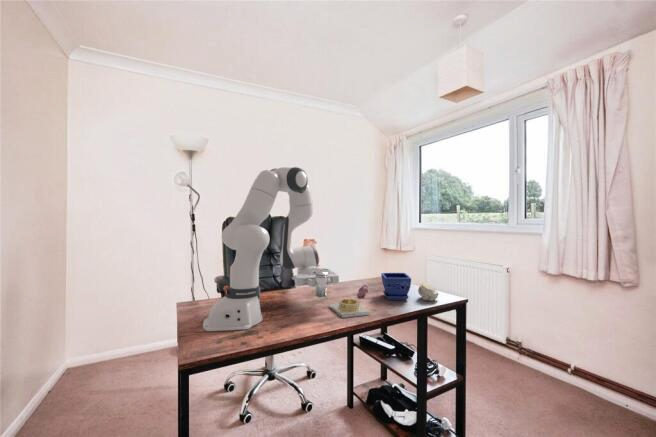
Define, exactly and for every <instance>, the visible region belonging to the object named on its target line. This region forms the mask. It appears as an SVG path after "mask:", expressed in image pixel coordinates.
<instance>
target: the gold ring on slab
mask: <svg viewBox="0 0 656 437" xmlns="http://www.w3.org/2000/svg"><path fill="white" fill-rule="evenodd" d="M329 308H330V309H331V310H333V311H334V312H335V313H336V314H337V315H338V316H339V317H340V318H342V319H345V318H354V317H362V316H369V315H371V311H370V310H369V309H367V307H365V306H363V305H362V304H361V303H360V300H358V299H353V298H342V299H339V301H338V302H335V303H329Z"/></svg>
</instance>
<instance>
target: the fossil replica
mask: <svg viewBox="0 0 656 437" xmlns="http://www.w3.org/2000/svg"><path fill="white" fill-rule="evenodd" d="M417 291H418V295H419V296H421V299H423V300H424V301H427V302H428V301H429V302H433V301H435V300H437V299H438V297H439V292H438V291H437V290H436V288H435V287H434V286H432V285H430V284H428V283H426V282H423V283H422V284H421V285H420V286H419V287H418V290H417Z"/></svg>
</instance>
